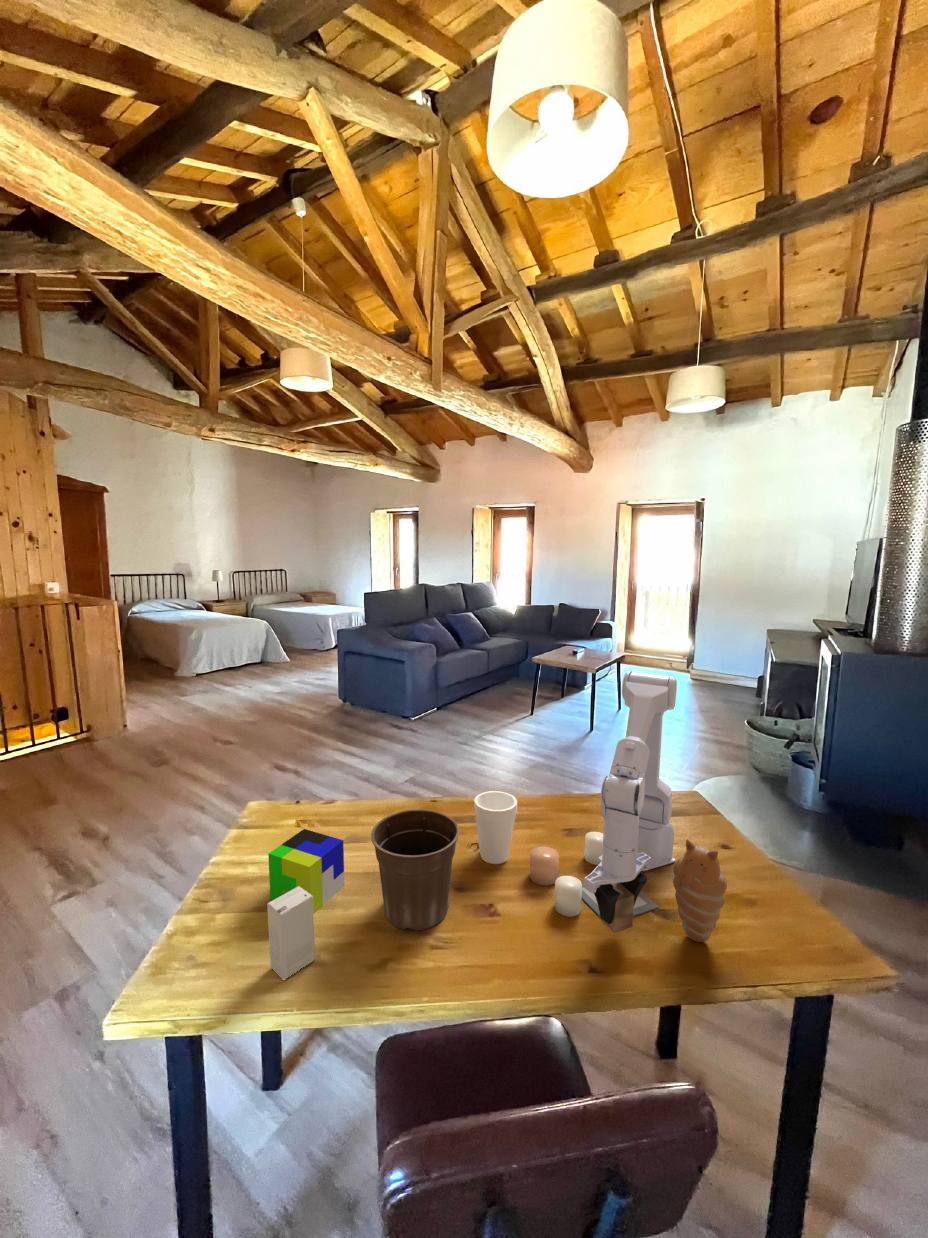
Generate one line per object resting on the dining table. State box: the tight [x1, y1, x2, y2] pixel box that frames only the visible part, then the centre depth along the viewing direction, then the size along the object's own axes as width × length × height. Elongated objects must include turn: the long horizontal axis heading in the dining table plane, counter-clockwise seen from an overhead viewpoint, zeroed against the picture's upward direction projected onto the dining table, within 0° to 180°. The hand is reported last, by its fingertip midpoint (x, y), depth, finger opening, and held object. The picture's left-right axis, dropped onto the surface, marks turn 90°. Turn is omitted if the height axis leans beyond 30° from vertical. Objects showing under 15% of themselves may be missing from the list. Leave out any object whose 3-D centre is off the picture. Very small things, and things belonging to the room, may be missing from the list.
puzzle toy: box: [267, 828, 345, 915], centre depth 106 cm, size 10×10×10 cm
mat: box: [581, 881, 660, 918], centre depth 107 cm, size 12×12×1 cm
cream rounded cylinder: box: [583, 831, 603, 866], centre depth 119 cm, size 5×5×5 cm
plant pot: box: [370, 808, 460, 931], centre depth 101 cm, size 16×16×16 cm
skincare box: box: [266, 886, 316, 980], centre depth 88 cm, size 6×4×12 cm
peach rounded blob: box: [529, 846, 560, 886], centre depth 113 cm, size 6×6×5 cm
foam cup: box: [473, 790, 518, 865], centre depth 120 cm, size 10×9×13 cm
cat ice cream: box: [672, 839, 728, 943], centre depth 94 cm, size 9×8×18 cm
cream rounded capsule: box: [554, 875, 583, 918], centre depth 103 cm, size 5×5×5 cm
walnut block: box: [598, 883, 634, 934], centre depth 95 cm, size 4×4×6 cm
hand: (616, 915), depth 95 cm, fingers closed on walnut block, 4 cm apart
